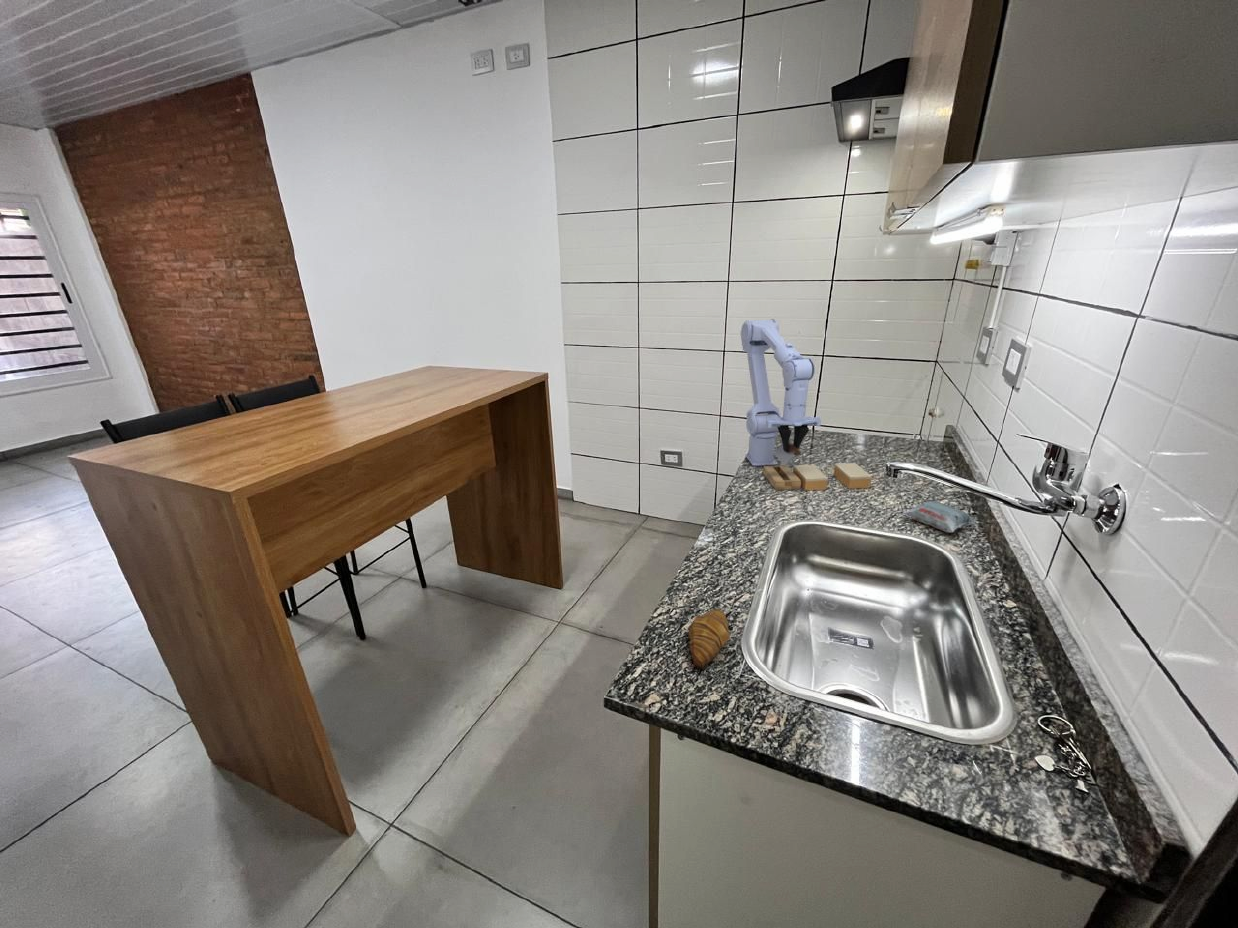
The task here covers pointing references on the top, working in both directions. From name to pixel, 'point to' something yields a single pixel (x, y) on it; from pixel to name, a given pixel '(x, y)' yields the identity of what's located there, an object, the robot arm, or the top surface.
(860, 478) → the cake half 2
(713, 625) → the croissant
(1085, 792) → the top surface
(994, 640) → the top surface
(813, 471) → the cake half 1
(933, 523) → the packaged food
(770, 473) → the knife block
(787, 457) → the knife
